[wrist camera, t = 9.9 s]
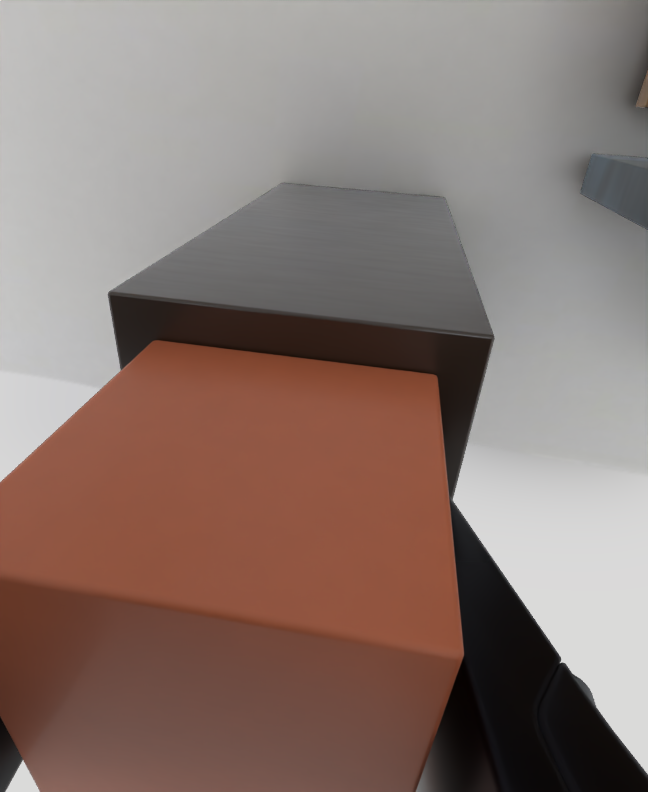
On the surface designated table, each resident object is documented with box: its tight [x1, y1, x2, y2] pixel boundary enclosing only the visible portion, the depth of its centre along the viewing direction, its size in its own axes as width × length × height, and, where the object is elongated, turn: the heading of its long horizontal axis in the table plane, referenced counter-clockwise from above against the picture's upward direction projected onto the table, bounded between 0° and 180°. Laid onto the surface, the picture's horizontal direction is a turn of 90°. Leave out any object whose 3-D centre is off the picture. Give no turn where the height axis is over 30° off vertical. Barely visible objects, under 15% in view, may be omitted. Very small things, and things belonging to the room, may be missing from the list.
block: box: [0, 340, 464, 792], centre depth 7 cm, size 5×5×5 cm
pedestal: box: [108, 183, 494, 500], centre depth 14 cm, size 6×6×12 cm
